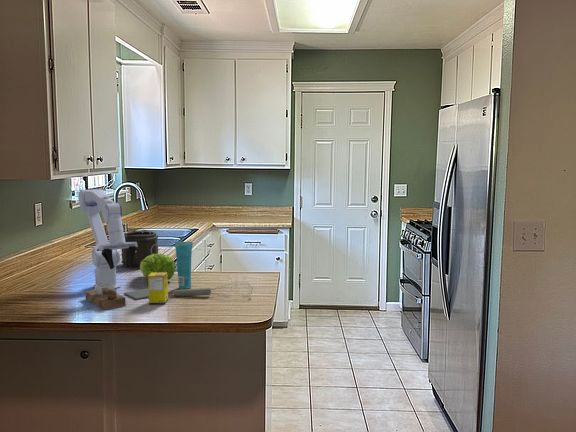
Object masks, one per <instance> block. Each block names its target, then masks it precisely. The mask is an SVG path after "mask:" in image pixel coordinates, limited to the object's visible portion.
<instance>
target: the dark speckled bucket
mask: <svg viewBox="0 0 576 432" xmlns="http://www.w3.org/2000/svg"><path fill="white" fill-rule="evenodd" d="M124 236H125V242H137V245H138V247H136V251H135V255H134V262H133V266H132V267H130V266H129V260H128V256H127V253H126V251H127V249H128V248H125V249H120V250H121V260H120V261H121V264H123V267H125V268H129V269H140V264H141V261H142V260H144V259H145V258H146V257H147V256H150V255H152V254H159V241H158V239H159V235H157V233H156V232H155V231H146V230H145V231H129V232H124Z"/></svg>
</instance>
